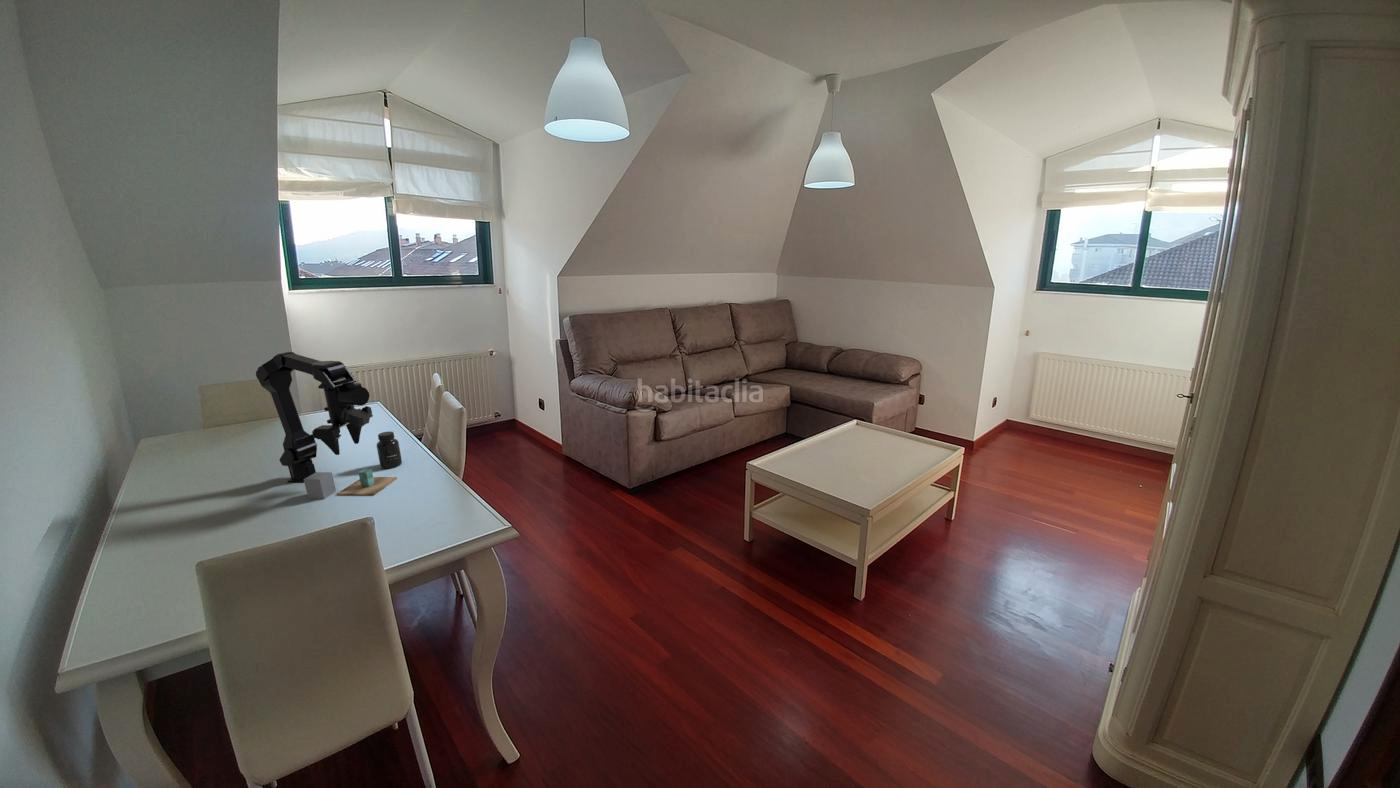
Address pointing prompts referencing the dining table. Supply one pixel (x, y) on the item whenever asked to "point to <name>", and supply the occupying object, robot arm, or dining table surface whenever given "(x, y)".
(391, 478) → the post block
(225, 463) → the dining table surface
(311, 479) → the grey rectangular block
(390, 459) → the supplement bottle
